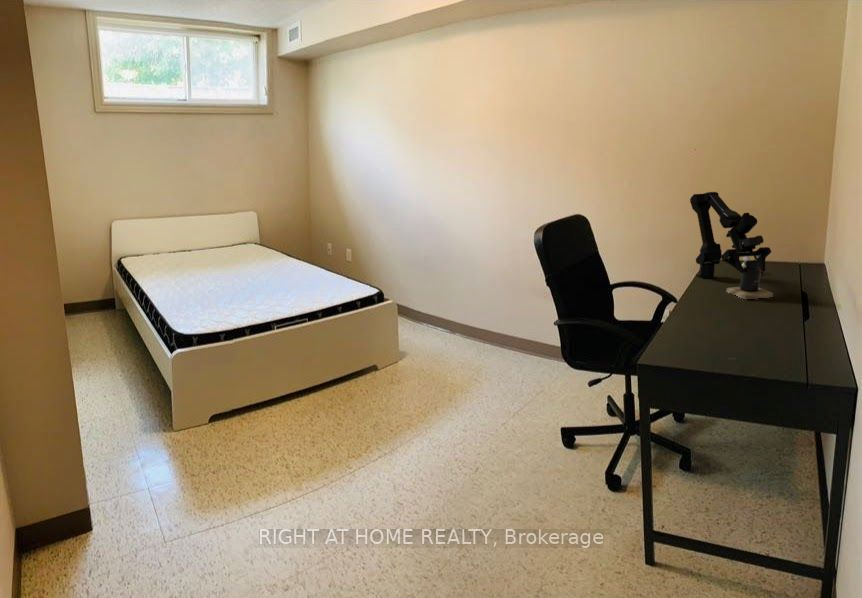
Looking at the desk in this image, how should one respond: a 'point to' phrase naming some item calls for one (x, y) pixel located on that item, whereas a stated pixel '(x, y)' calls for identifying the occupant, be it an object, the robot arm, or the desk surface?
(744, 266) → the toy character
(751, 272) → the supplement bottle
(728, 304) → the desk surface
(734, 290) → the base slab
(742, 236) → the robot arm
